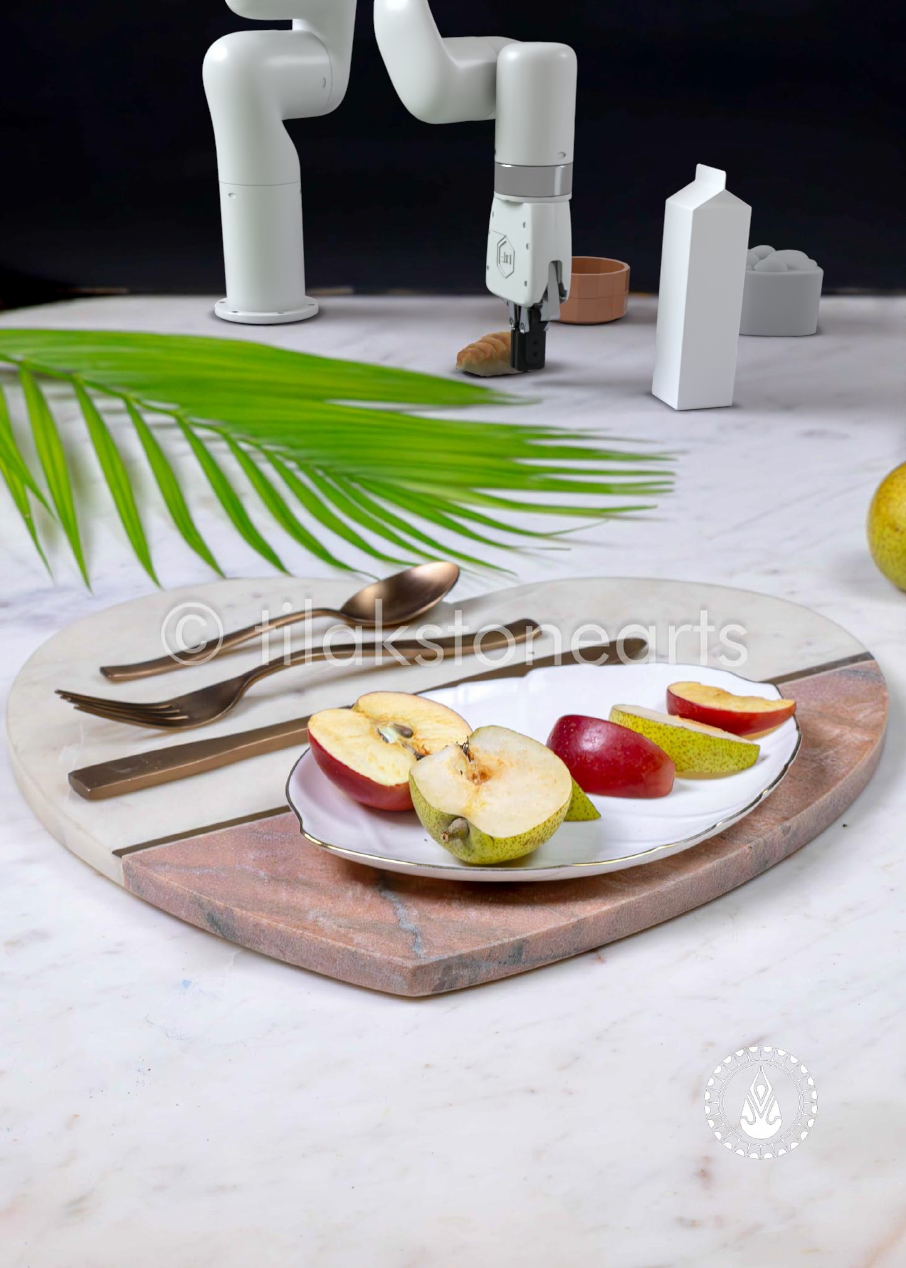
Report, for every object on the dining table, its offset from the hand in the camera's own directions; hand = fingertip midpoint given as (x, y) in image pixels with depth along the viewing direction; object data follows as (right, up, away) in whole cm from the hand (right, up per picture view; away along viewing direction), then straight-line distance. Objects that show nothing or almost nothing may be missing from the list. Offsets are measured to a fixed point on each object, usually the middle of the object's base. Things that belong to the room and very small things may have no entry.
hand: (527, 367), depth 139 cm
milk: (+16, -4, -4) cm, 17 cm away
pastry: (-2, +1, +6) cm, 6 cm away
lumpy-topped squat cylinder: (+29, +10, +24) cm, 39 cm away
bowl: (+8, +12, +28) cm, 31 cm away
